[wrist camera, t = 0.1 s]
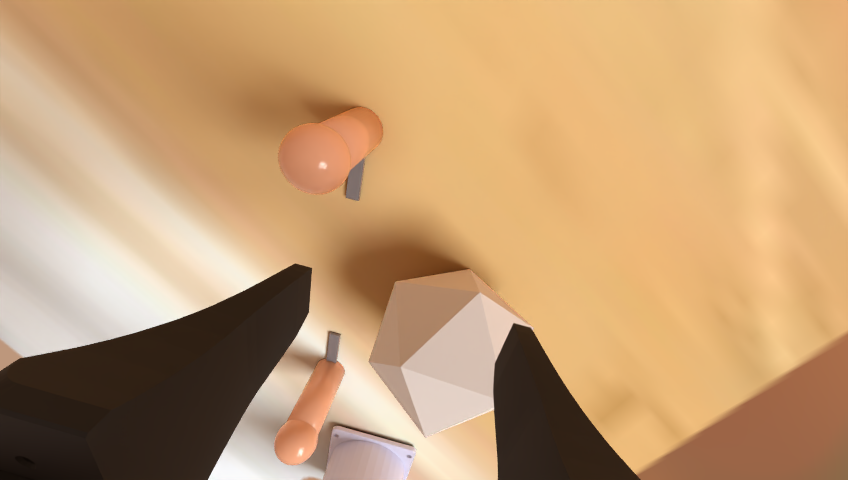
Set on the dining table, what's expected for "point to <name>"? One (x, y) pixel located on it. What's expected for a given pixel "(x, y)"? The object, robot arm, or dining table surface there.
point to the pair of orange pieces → (316, 174)
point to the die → (442, 347)
